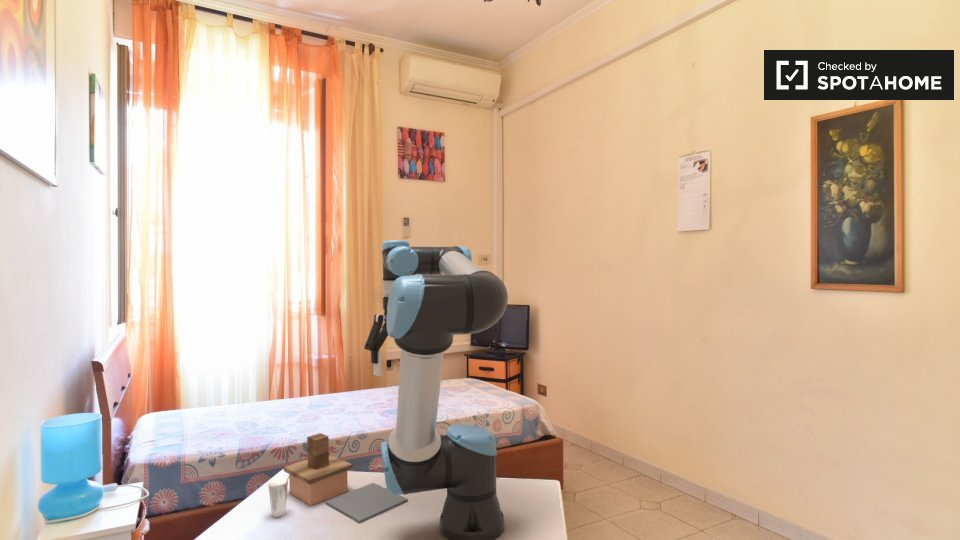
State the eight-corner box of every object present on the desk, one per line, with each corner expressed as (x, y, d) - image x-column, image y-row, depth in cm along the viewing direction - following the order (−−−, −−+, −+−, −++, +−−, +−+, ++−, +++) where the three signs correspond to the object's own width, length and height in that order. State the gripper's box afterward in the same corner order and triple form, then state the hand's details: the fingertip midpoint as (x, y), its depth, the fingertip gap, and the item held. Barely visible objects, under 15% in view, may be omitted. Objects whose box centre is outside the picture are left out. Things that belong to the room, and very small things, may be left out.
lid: (352, 468, 143) (352, 435, 142) (309, 484, 133) (308, 448, 133) (326, 457, 151) (325, 425, 151) (283, 471, 141) (283, 437, 141)
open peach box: (347, 491, 143) (347, 469, 142) (310, 505, 134) (310, 482, 134) (325, 479, 150) (325, 459, 150) (289, 492, 142) (289, 470, 142)
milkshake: (285, 519, 127) (284, 479, 127) (265, 518, 128) (264, 477, 128) (294, 510, 132) (294, 471, 131) (275, 509, 133) (274, 470, 132)
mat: (407, 501, 136) (407, 499, 136) (359, 523, 125) (359, 520, 125) (373, 484, 146) (373, 482, 146) (325, 503, 135) (325, 501, 135)
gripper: (421, 292, 158) (422, 362, 158) (350, 297, 139) (351, 376, 140) (438, 293, 153) (439, 365, 153) (367, 299, 134) (368, 381, 135)
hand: (397, 371), depth 147 cm, fingers open, 13 cm apart
